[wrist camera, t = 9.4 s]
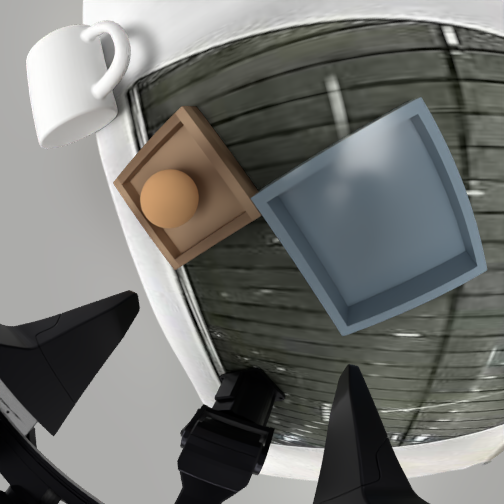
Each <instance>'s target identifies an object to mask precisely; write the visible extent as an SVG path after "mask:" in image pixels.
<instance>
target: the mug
mask: <svg viewBox="0 0 504 504" xmlns="http://www.w3.org/2000/svg"><path fill="white" fill-rule="evenodd" d="M103 33H109V34H110V35H111V37H112V39H113V42H114V46H115V55H114V59H113V62H112V64H111V66H110V67H109V69H108V71H107V67H106V63H105V59H104V54H103V50H102V45H101V40H100V36H99V35H101V34H103ZM130 56H131V48H130V42H129V39H128V36H127V34H126V32H125V31H124V29H123V28H122V27H121V26H120V25H119V24H117V23H115V22H113V21H101V22H98V23H95V24H94V25H92V26H89V25H83V24H79V25H71V26H66V27H63V28H60V29H57V30H55V31H53V32H51V33H49V34H48V35H46V36H45V37H43V38H42V39H41V40H39V41H38V42H37V43H36V44H35V45H34V46H33V48H32V49H31V50H30V52H29V54H28V56H27V59H26V67H27V78H28V86H29V94H30V100H31V107H32V112H33V117H34V122H35V127H36V132H37V136H38V141H39V144H40V146H41V147H42V148H46V149H47V148H48V149H50V148H57V147H61V146H64V145H67V144H70V143H73V142H75V141H78V140H80V139H82V138H84V137H87V136H89V135H90V134H93V133H95V132H96V131H98V130H100V129H101V128H103V127H105V126H106V125H107V124H109V123H110V122H111V121H112V120H113V119H114V118H115V117H116V116H117V113H118V108H117V105H116V101H115V98H114V94H113V91H112V90H113V89H114V88H115V87H116V85H117V84H118V83H119V82H120V80H121V79H122V77H123V76H124V74H125V72H126V70H127V68H128V65H129V61H130Z"/></svg>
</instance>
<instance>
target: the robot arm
mask: <svg viewBox="0 0 504 504" xmlns="http://www.w3.org/2000/svg"><path fill="white" fill-rule="evenodd" d="M139 309H140V307H139V300H138V295H137V293H135V292H132V291H130V290H128V291H125V292H122V293H119V294H116V295H113V296H110V297H108V298H105V299H102V300H99V301H96V302H93V303H90V304H87V305H84V306H81V307H78V308H75V309H73V310H70V311H67V312H64V313H62V314H58V315H55V316H52V317H49V318H46V319H42V320H39V321H35V322H31V323H26V324H23V325H18V326H5V325H2V324H0V473H1V474H2V475H3V477H4V478H5V479H6V480H7V482H8V483H9V484H10V486H9V488H8V489H7V490H6V492H3V491H1V490H0V504H58V503H59V501H60V500H61V501H63V502H65V503H66V504H104V503H103V502H101V501H100V500H98V499H97V498H96V497H94V496H93V495H91V494H90V493H88V492H87V491H86V490H84V489H83V488H81V487H80V486H79V485H78V484H77V483H75V482H74V481H73V480H71V479H70V478H69V477H68V476H66V475H65V474H64V473H63V472H62V471H61V470H59V469H58V468H57V467H56V466H55V465H54V464H53V463H52V462H50V461H49V460H48V459H47V458H46V457H45V456H44V455H43V454H42V453H41V452H40V451H39V450H38V449H37V446H36V437H35V428H34V426H35V424H36V423H37V422H39V423H40V424H41V425H42V426H43V427H44V428H45V429H46V430H47V431H48V432H49V433H50V434H51V435H53V436H54V435H55V434H56V433H57V431H58V430H59V428H60V427H61V425H62V423H63V422H64V420H65V419H66V417H67V416H68V414H69V413H70V411H71V410H72V408H73V407H74V406H75V404H76V402H77V401H78V399H79V398H80V397H81V395H82V394H83V392H84V390H85V389H86V388H87V387H88V385H89V384H90V382H91V381H92V380H93V378H94V377H95V375H96V374H97V373H98V371H99V370H100V368H101V367H102V366H103V364H104V363H105V362H106V360H107V359H108V357H109V356H110V355H111V353H112V352H113V351H114V349H115V348H116V347H117V345H118V344H119V343H120V341H121V340H122V338H123V337H124V335H125V334H126V332H127V330H128V329H129V327H130V325H131V324H132V322H133V321H134V318H135V317H136V316H137V314H138V312H139ZM220 380H221V381H222V384H221V386H220V388H219V390H218V392H217V394H216V396H215V400H216V402H215V404H214V406H213V407H212V408H210V407H208V406H207V405H204V404H203V406H202V407H201V409H198V410H197V412H196V414H195V415H194V417H193V418H192V419H191V421H190V422H189V423H188V424H187V425H186V426H185V427H184V428H183V429H182V431H181V433H180V434H181V436H182V440H181V445H180V446H181V448H183V450H182V452H181V454H180V456H179V459H178V461H177V462H178V470H179V471H180V475H181V481H182V486H183V488H182V490H181V492H180V494H179V496H178V498H177V500H176V502H175V504H221V503H222V502H223V501H225V500H227V499H228V498H230V497H231V496H233V495H234V494H236V493H237V492H238V491H240V490H241V489H243V488H245V487H246V486H247V485H248V483H249V480H250V478H251V476H252V474H255V475H258V474H259V473H260V471H261V469H262V466H263V464H264V462H265V459H266V456H267V453H268V450H269V447H270V443H271V440H272V436H273V433H274V429H275V428H271V427H270V428H269V427H266V424H267V421H268V419H269V416H270V413H271V410H272V407H273V404H274V402H275V401H281V400H284V399H285V395H284V394H283V393H282V392H281V391H280V390H279V389H278V388H277V387H276V386H275V384H274V383H273V382H272V381H271V380H270V379H269V378H268V377H267V376H266V375H265V374H264V373H263V372H262V371H261V369H259V368H251V369H247V370H242V371H238V372H233V373H228V374H223V375H221V376H220ZM387 437H388V436H387V433H386V431H385V428H384V426H383V423H382V421H381V418H380V416H379V413H378V411H377V409H376V406H375V404H374V401H373V399H372V397H371V394H370V392H369V390H368V387H367V385H366V383H365V380H364V378H363V376H362V373H361V371H360V369H359V367H358V366H355V365H351V364H349V365H347V367H346V368H345V370H344V371H343V373H342V374H341V376H340V378H339V381H338V385H337V390H336V394H335V398H334V402H333V405H332V409H331V413H330V419H329V425H328V432H327V438H326V444H325V449H324V455H323V460H322V465H321V470H320V475H319V480H318V485H317V489H316V493H315V497H314V502H313V504H429V503H427V502H426V501H424V500H423V499H421V498H420V497H419V496H418V495H417V494H416V493H415V492H414V491H413V489H412V488H411V485H410V483H409V481H408V479H407V477H406V475H405V474H404V472H403V470H402V468H401V466H400V464H399V462H398V460H397V458H396V456H395V453H394V451H393V448H392V446H391V443H390V441H389V438H387Z"/></svg>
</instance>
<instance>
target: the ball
mask: <svg viewBox="0 0 504 504" xmlns="http://www.w3.org/2000/svg"><path fill="white" fill-rule="evenodd" d="M198 202H199V194H198V189H197V186H196V184H195V183H194V181H193V180H192V179H191V177H189V176H188V175H187V174H186V173H184V172H182V171H179V170H175V169H166V170H162V171H159V172H157V173H155V174H153V175H152V176H151V177H150V178H149V179H148V180H147V181H146V183H145V184H144V186H143V188H142V191H141V196H140V203H141V208H142V211H143V213H144V215H145V216H146V218H147V219H148V220H149V221H150V222H151V223H153V224H154V225H156V226H159V227H162V228H176V227H179V226H181V225H183V224H185V223H186V222H188V221H189V220H190V219H191V218H192V216H193V215H194V213H195V212H196V209H197V207H198Z"/></svg>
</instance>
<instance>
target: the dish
mask: <svg viewBox="0 0 504 504" xmlns="http://www.w3.org/2000/svg"><path fill="white" fill-rule="evenodd" d="M250 199H251V200H252V201H253V203H254V204H255V206H256V207H257V209H258V210H259V211H260V213H261V214H262V216H263V217H264V219H265V220H266V222H267V223H268V224H269V226H270V227H271V229H272V230H273V232H274V233H275V235H276V236H277V238H278V239H279V241H280V242H281V243H282V245H283V246H284V248H285V249H286V251H287V252H288V254H289V255H290V257H291V258H292V260H293V261H294V263H295V264H296V266H297V267H298V269H299V270H300V272H301V273H302V275H303V276H304V278H305V279H306V281H307V282H308V284H309V285H310V287H311V288H312V290H313V291H314V293H315V294H316V296H317V297H318V299H319V301H320V302H321V304H322V305H323V307H324V308H325V310H326V311H327V313H328V314H329V316H330V318H331V319H332V321H333V322H334V324H335V325H336V327H337V328H338V330H339V332H340V333H341V335H342V336H345V335H348V334H351V333H353V332H356V331H359V330H361V329H364V328H367V327H369V326H372V325H374V324H377V323H379V322H382V321H384V320H387V319H389V318H392V317H394V316H396V315H399V314H401V313H403V312H406V311H408V310H410V309H412V308H415V307H417V306H419V305H421V304H423V303H426V302H428V301H430V300H432V299H434V298H436V297H438V296H440V295H442V294H444V293H446V292H448V291H450V290H452V289H454V288H456V287H458V286H460V285H462V284H463V283H465V282H467V281H469V280H471V279H473V278H474V277H476V276H478V275H480V274H481V273H483V272H485V271H487V266H486V261H485V256H484V252H483V247H482V243H481V239H480V235H479V231H478V228H477V224H476V221H475V217H474V214H473V211H472V208H471V205H470V202H469V199H468V196H467V193H466V190H465V187H464V185H463V182H462V179H461V177H460V174H459V172H458V169H457V167H456V164H455V162H454V160H453V157H452V155H451V153H450V151H449V149H448V146H447V144H446V142H445V140H444V138H443V136H442V134H441V132H440V130H439V128H438V126H437V124H436V122H435V121H434V119H433V117H432V115H431V113H430V112H429V110H428V108H427V106H426V105H425V103H424V101H423V99H422V98H421V97H419V98H416V99H413V100H410V101H407V102H406V103H404V104H402V105H400V106H398V107H396V108H394V109H393V110H391V111H389V112H387V113H385V114H384V115H382V116H380V117H378V118H376V119H375V120H373V121H371V122H369V123H368V124H366V125H364V126H362V127H361V128H359V129H357V130H355V131H354V132H352V133H350V134H349V135H347V136H345V137H343V138H342V139H340V140H338V141H337V142H335V143H333V144H332V145H330V146H328V147H327V148H325V149H323V150H322V151H320V152H318V153H317V154H315V155H314V156H312V157H310V158H309V159H307V160H305V161H304V162H302V163H301V164H299V165H297V166H296V167H294V168H293V169H291V170H290V171H288V172H286V173H285V174H283V175H282V176H280V177H279V178H277V179H275V180H274V181H272V182H271V183H269V184H268V185H266V186H265V187H263V188H262V189H261V190H260V191H258V192H257V193H256V194H255V195H254V196H253V197H251V198H250Z"/></svg>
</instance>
